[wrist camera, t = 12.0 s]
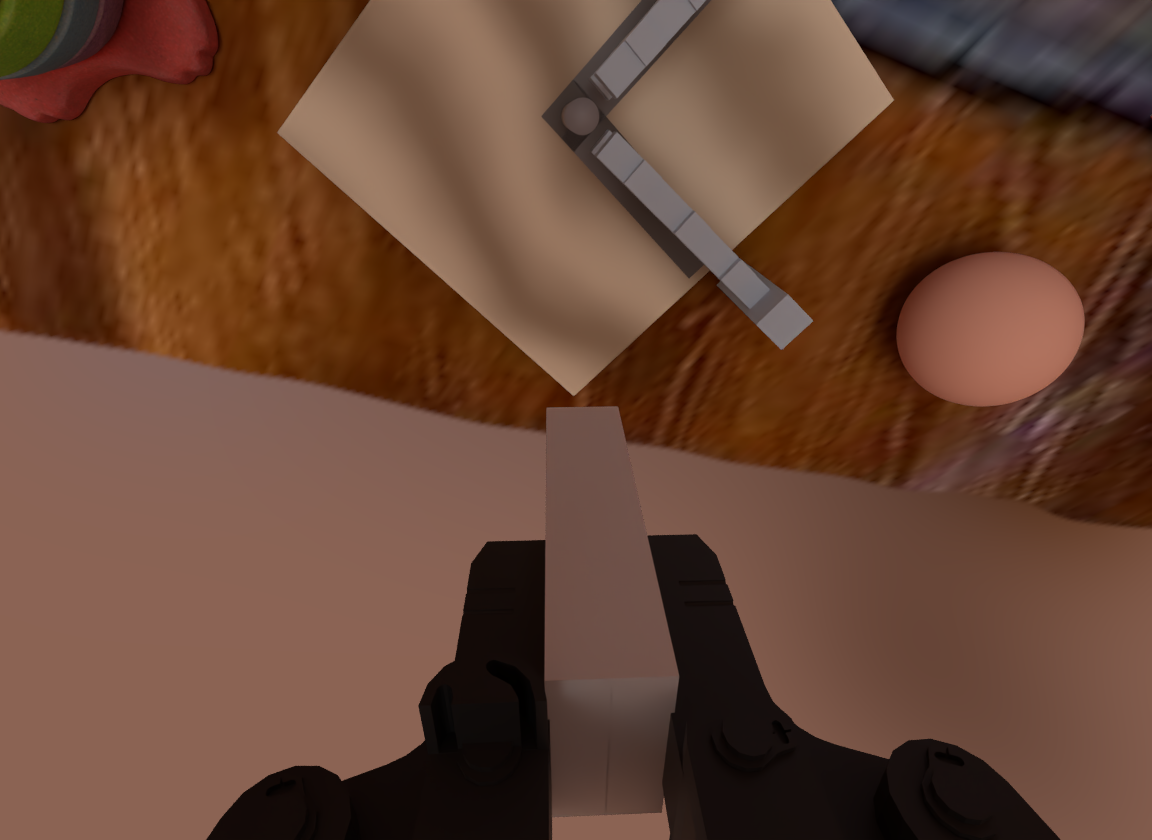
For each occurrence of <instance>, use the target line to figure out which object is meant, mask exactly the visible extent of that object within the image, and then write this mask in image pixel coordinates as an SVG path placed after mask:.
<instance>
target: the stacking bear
mask: <svg viewBox="0 0 1152 840" xmlns="http://www.w3.org/2000/svg"><path fill="white" fill-rule="evenodd" d="M217 49H218V35H217V30H216V26H215V23H214V20H213V17H212V15H211V12H210V10H209V8H208V5H207V3H206V1H205V0H0V104H1V105H3V106H4V107H7V108H10V109H13V110H15V111H16V112H18V113H19V114H21V115H23V116H25V117H27V118H29V119H31V120H34V121H38V122H43V123H52V122H55V121H57V120H58V119H63V120H72V119H74V118H76V117H78V116H79V115H80V114H81V113H82V112H83V110H84V109H85V107H86V105H87V103H88V101H89V100H90V98H91V96H92V95H93V93H94V92H95V91H96V90H97V89H98V88H99V87H100V86H101V85H102V84H104V83H105V82H106V81H108V80H110V79H112V78H115V77H119V76H123V75H129V74H141V75H145V76H150V77H153V78H156V79H159V80H162V81H165V82H170V83H176V84H188V83H190V82H192V81H193V80H194V79H195V77H196V76H199V75H202V76H206V75H208V74H209V73H210V72H211V69H212V65H213V56H214V55H215V54H216V52H217Z"/></svg>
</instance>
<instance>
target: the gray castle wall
mask: <svg viewBox="0 0 1152 840" xmlns="http://www.w3.org/2000/svg"><path fill="white" fill-rule="evenodd" d="M590 152H592V153H593V154H594V155H595V156H596V157H597V158H598V159H599V160H600V161H601V162H602V163H603V164H604V165H605V166H606V167H607V168H608V169H609V170H610V171H611V173H612V174H613V175H614V176H615V177H616V178H617V179H618V180H619V181H621V182H622V183H623V184H624V185H625V186H626V187H627V188H628V189H629V190H630V191H631V192H632V193H633V194H634V195H635V196H636V197H637V198H638V199H639V200H640V201H641V202H642V203H643V204H644V205H645V206H646V207H647V208H648V209H649V210H650V211H651V212H652V213H653V214H654V215H655V216H656V217H657V218H658V219H659V220H660V221H661V222H662V223H663V224H664V225H665V226H666V227H667V228H668V229H669V230H670V231H671V232H672V233H673V234H674V235H675V236H676V237H677V238H678V239H679V240H680V241H681V242H682V243H683V244H684V245H685V246H686V247H687V248H688V249H689V250H690V251H691V252H692V253H693V254H694V255H695V256H696V257H697V258H698V259H699V260H700V261H701V262H702V263H703V264H704V265H705V266H706V267H707V268H708V269H709V270H710V271H711V272H712V273H713V274H714V275H715V276H716V277H717V278H718V279H719V280H720V282H719V283H718V284H717V286H718V287H719V288H720V289H721V290H722V291H723V292H724V293H725V294H726V295H727V296H728V297H729V298H730V299H731V300H732V301H733V302H734V303H735V304H736V305H737V306H738V307H739V308H740V309H741V310H742V311H743V312H744V313H745V314H746V315H747V316H748V317H749V318H750V319H751V320H752V321H753V322H754V323H755V324H756V325H757V326H758V327H759V328H760V329H761V330H762V331H763V332H764V333H765V334H766V335H767V336H768V337H769V338H770V339H771V340H772V341H773V342H774V343H775V344H776V345H777V346H778V347H779V348H780V349H781V350H782V349H783V348H784V347H785V346H786V345H788V344H789V343H790V342H791V341H792V340H793V339H794V338H795V337H796V336H797V335H798V334H800V333H801V332H802V331H803V330H804V329H805V328H806V327H807V326H808V325H809V324H810V323H812V322H813V320H812V319H811V318H810V317H809V316H808V315H807V314H806V313H805V312H804V311H803V310H802V309H801V307H800V306H799V305H798V304H797V303H796V302H795V301H794V300H793V299H792V298H791V297H790V296H789V295H788V294H787V293H785V292H784V291H783V290H781V289H780V288H779V287H777V286H776V285H775V284H773V283H772V282H771V281H769V280H768V279H767V278H765V277H764V276H763V275H761V274H760V273H758V272H757V271H756V270H754V269H753V268H752V267H750V266H749V265H748V264H746V263H745V262H744V261H742V260H741V259H740V258H739V257H738V256H737V255H736V254H735V253H734V252H733V251H732V250H731V249H730V248H729V247H728V246H727V245H726V244H725V243H724V242H723V241H722V240H721V239H720V238H719V237H718V236H717V235H716V234H715V233H714V231H713V230H712V229H711V228H710V227H709V226H708V225H707V223H706V222H705V221H704V220H703V219H702V218H701V217H700V216H699V215H698V214H697V213H696V212H695V211H693V210H692V209H691V208H690V207H689V206H688V205H687V204H686V203H685V202H684V201H683V200H682V198H681V197H680V196H679V195H678V194H677V193H676V192H675V191H674V190H673V189H672V188H671V187H670V186H669V185H668V184H667V183H666V182H665V181H664V180H663V179H662V177H661V176H660V175H659V174H658V173H657V172H656V171H655V170H654V169H653V168H652V167H651V166H650V165H649V164H648V163H647V162H646V161H645V160H644V159H643V158H642V157H641V156H640V155H639V154H638V153H637V152H636V151H635V150H634V149H633V148H632V147H631V146H630V145H629V144H628V143H627V142H626V141H625V140H624V139H623V138H622V137H621V136H620V135H619V134H618V133H617V132H615V131H614V132H613V133H612V132H611V131H610V130H606V132H605V133H604V134H603V135H602V137H601V138H600V139H599V140H598V141H597V143H596V144H595V145H594V146H593V148H592V149H591V150H590Z"/></svg>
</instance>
